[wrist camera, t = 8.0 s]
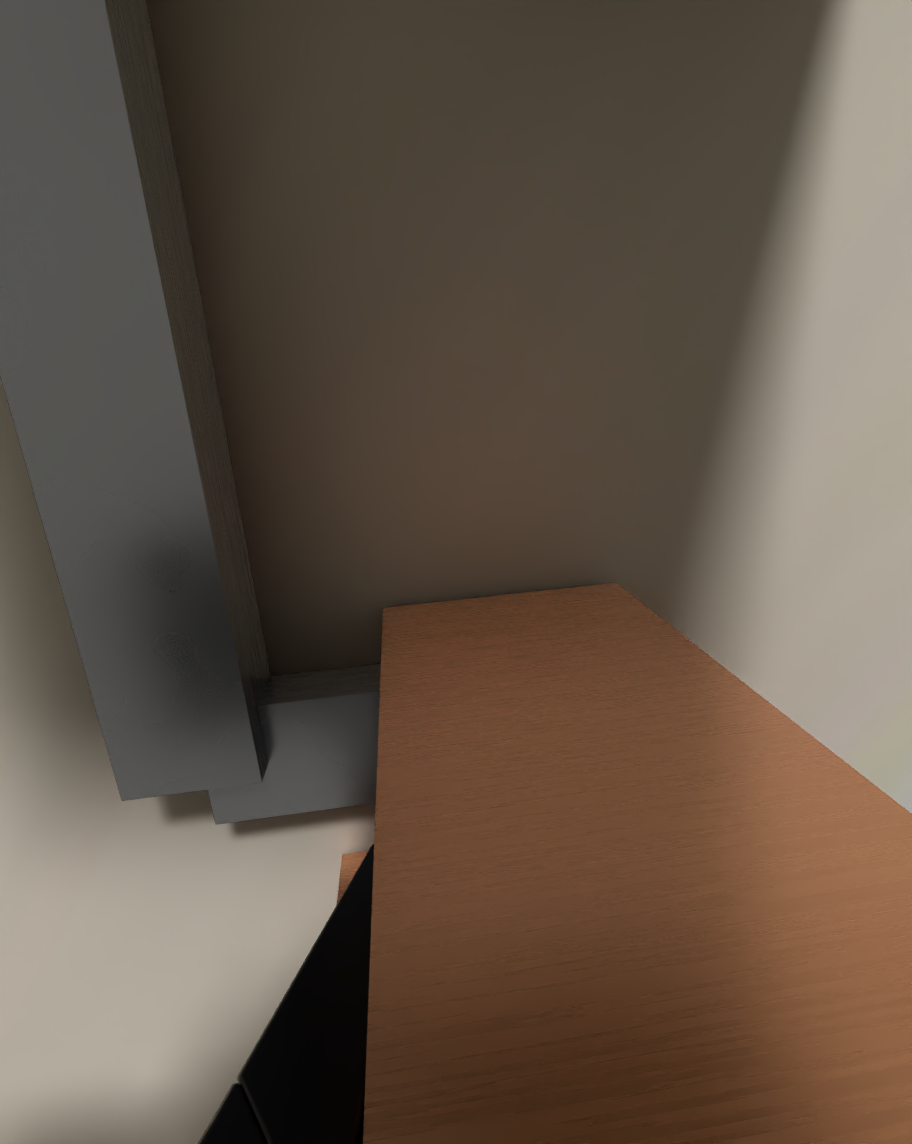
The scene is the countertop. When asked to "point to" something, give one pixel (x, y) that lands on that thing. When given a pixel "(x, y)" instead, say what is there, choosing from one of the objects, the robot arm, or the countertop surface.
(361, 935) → the robot arm
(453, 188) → the countertop surface
